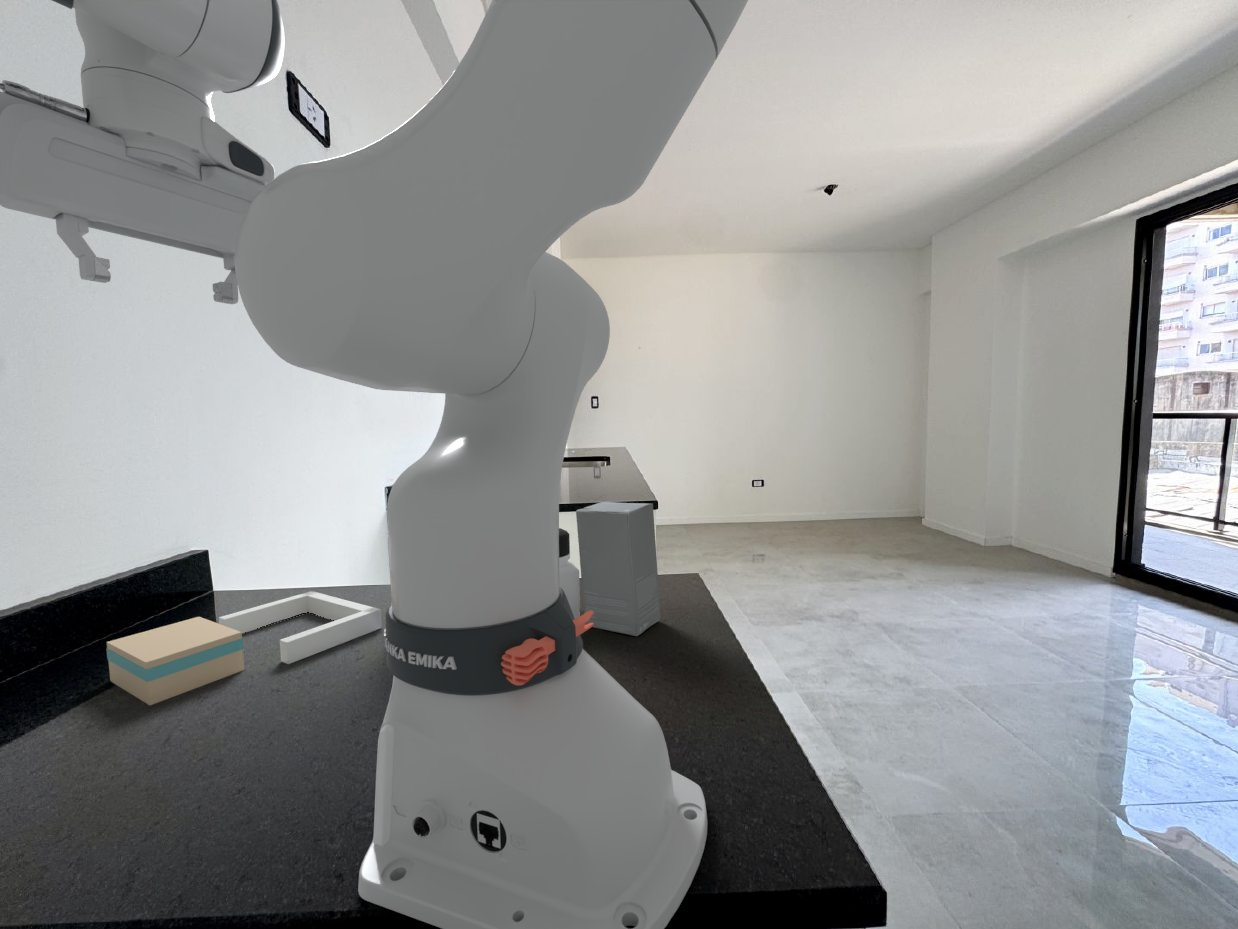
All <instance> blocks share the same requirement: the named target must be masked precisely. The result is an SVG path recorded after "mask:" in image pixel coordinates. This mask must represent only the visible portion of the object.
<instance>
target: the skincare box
mask: <svg viewBox="0 0 1238 929" xmlns="http://www.w3.org/2000/svg"><path fill="white" fill-rule="evenodd" d="M575 515H576V516H575V517H576V518H575V519H576V525H577V526H576V527H577V530H576V531H577V539H578V540H577V542H578V548H579V549H578V551H579V552H578V553H579V565H580V566H579V567H580V577H581V580H580V581H581V591H582V604H583V605H582V606H583V614H585V613H586V612H588V611H590V610H592V611H594V614H593V615H592V617H591V618H590V620H589V621H588V622H586V623H585V625H587V624H589V623H594V625H593V626H592V627H591V628H594V629H599V630H605V631H609V632H614V633H619V634H623V635H624V634H625V635H629V636H634V637H638V636H639V635H641V634H642V633H644V632H645V631H646V630H647V629H649V628H650V627H652V626H653V625H654V624H656V623H658V622H659V621H660V618H661V603H660V588H659V587H660V586H659V576H658V575H659V574H658V561H657V559H658V558H657V546H656V532H655V531H656V529H655V517H654V504H653V503H645V502H644V503H643V502H642V503H641V502H640V503H639V502H636V503H635V502H629V503H628V502H615V501H614V502H613V501H601V502H597V503H595V504H592V505H588V506H585V507H583V508H580V509H579V508H578V509H577V510H576V511H575Z"/></svg>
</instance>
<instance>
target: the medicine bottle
mask: <svg viewBox="0 0 1238 929" xmlns="http://www.w3.org/2000/svg"><path fill="white" fill-rule="evenodd" d="M570 540H571V539H570V533H569V532H568V531H567V530H565V529H563V528H560V527H559V583H560V587H561V589H562V590H563V591H564V593H565V595H566V597H567V600H568V602H569V605H570V607H571V610H572V613H573V615H574V618H575V619H576V618H578V617H579V616H581V599H580V598H581V595H580V594H581V592H580V591H581V590H580V585H581V584H580V570H579V569H578V567H577V566H576V565H575V564H574V563H573V562H572V561H571V560H570V558H571V549H570V548H571V546H570Z"/></svg>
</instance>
